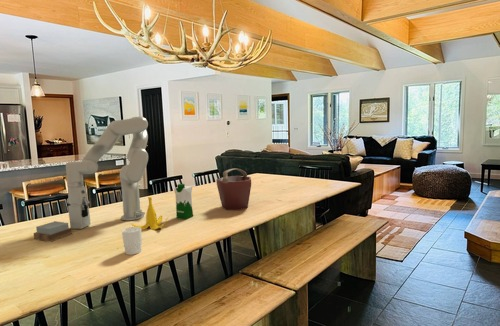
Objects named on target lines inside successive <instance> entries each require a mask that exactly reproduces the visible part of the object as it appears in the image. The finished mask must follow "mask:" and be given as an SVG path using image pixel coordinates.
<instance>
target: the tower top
mask: <svg viewBox="0 0 500 326" xmlns="http://www.w3.org/2000/svg"><path fill="white" fill-rule="evenodd" d="M69 226H70V225H69V222H64V221H52V222H48V223H45V224H41V225H39V226H35V227H36V229H35V230H36V232H37V233H42V234H47V235H52V234H55V233H58V232H61V231H64V230H67V229H69V228H70V227H69Z"/></svg>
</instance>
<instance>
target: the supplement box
mask: <svg viewBox="0 0 500 326" xmlns="http://www.w3.org/2000/svg"><path fill="white" fill-rule="evenodd" d="M83 207H84V205H83ZM67 208H68V218H69V226H70V227H69V228H72V229H76V230H77V229H78V230H80V229H81V230H82V229H84V228H86V227H88V226H90V225H91V215H90V206H89V207H88V216H86V217H82V210H83V209H82V207H81V206H79V205H70V206H68V205H67Z"/></svg>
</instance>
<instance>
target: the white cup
mask: <svg viewBox="0 0 500 326" xmlns="http://www.w3.org/2000/svg"><path fill="white" fill-rule="evenodd" d="M121 235H122V242H123V243H122V244H123V247H124V253H125V255H127V256H129V255H130V256H131V255H137V254H140V253H141V252H142V251H143V250H142V249H143V248H142V244H143V243H142V240H143V239H142V238H143V237H142V229H141V228H140V227H134V226H130V227H126V228H124V229H122V231H121Z"/></svg>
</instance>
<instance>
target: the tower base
mask: <svg viewBox="0 0 500 326" xmlns="http://www.w3.org/2000/svg"><path fill="white" fill-rule="evenodd" d="M71 235H73V228H71V227H69V229H67V230H64V231H61V232H58V233H55V234H52V235H47V234H42V233H37V231H36V232H34V233H33V238H34V240H36V241H37V240H38V241H44V242H49V243H51V242H53V241H56V240H60V239H62V238H65V237H68V236H71Z"/></svg>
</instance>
